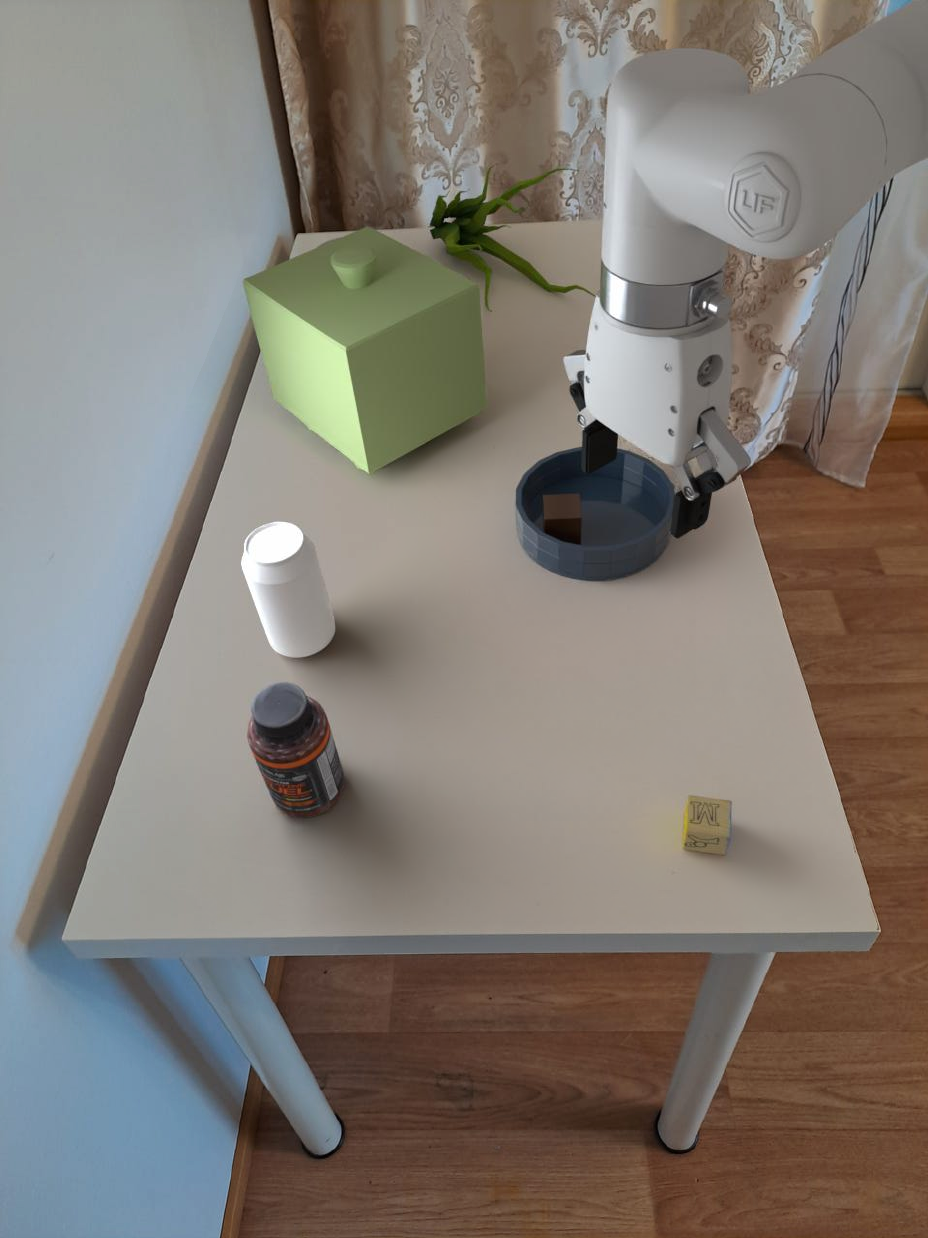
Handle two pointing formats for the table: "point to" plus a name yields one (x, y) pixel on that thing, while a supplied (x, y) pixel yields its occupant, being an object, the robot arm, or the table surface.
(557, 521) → the walnut cube
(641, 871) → the table surface
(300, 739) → the supplement bottle
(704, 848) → the alphabet block
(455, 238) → the decorative plant
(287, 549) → the beverage can
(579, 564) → the bowl
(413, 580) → the table surface
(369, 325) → the container
